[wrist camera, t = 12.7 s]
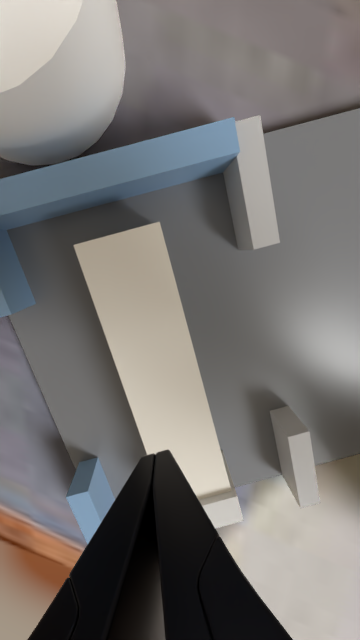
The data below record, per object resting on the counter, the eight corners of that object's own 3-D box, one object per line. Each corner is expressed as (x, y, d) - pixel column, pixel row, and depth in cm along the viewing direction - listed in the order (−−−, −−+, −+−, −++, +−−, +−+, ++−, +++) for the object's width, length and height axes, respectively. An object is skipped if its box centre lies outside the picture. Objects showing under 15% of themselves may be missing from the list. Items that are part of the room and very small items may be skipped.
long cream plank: (228, 471, 18) (243, 520, 15) (169, 487, 18) (171, 540, 15) (163, 226, 14) (164, 219, 11) (87, 247, 14) (65, 246, 11)
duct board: (479, 413, 19) (551, 449, 16) (101, 515, 19) (87, 575, 16) (490, 77, 14) (601, 19, 10) (-28, 214, 14) (-91, 202, 10)
